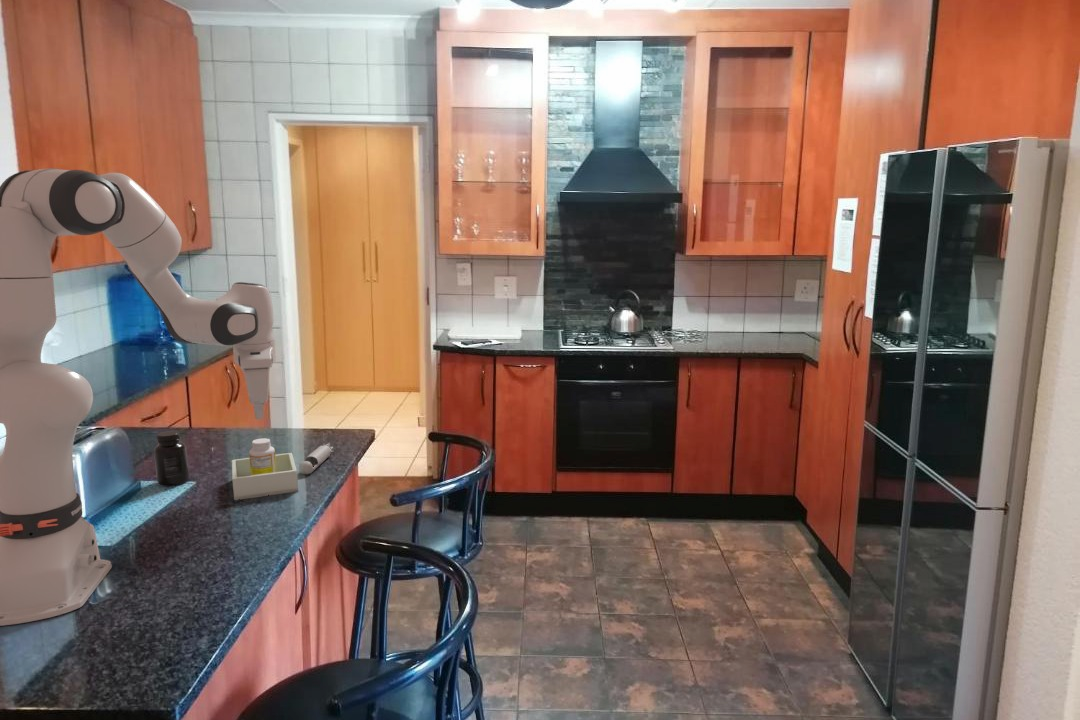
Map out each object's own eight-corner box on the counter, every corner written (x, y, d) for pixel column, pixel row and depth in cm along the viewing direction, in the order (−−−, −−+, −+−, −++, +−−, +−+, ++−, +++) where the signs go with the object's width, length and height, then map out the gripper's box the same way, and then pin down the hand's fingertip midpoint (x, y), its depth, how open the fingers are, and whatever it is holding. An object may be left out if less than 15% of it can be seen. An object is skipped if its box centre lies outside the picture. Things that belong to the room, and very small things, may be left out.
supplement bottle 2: (262, 477, 175) (259, 436, 173) (282, 479, 173) (279, 438, 171) (246, 485, 170) (242, 443, 168) (266, 488, 168) (262, 445, 166)
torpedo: (313, 477, 178) (312, 451, 177) (294, 476, 178) (292, 451, 177) (338, 453, 195) (337, 429, 194) (321, 452, 196) (320, 429, 194)
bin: (298, 491, 168) (296, 470, 167) (234, 500, 163) (232, 479, 162) (293, 472, 181) (292, 452, 180) (233, 479, 176) (231, 459, 175)
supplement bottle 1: (195, 477, 177) (190, 429, 175) (179, 487, 171) (173, 438, 168) (168, 476, 178) (163, 428, 176) (151, 486, 171) (145, 437, 169)
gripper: (238, 347, 174) (242, 404, 176) (240, 362, 155) (244, 426, 158) (267, 345, 176) (270, 401, 179) (272, 361, 158) (275, 423, 160)
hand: (258, 413), depth 168 cm, fingers open, 8 cm apart
